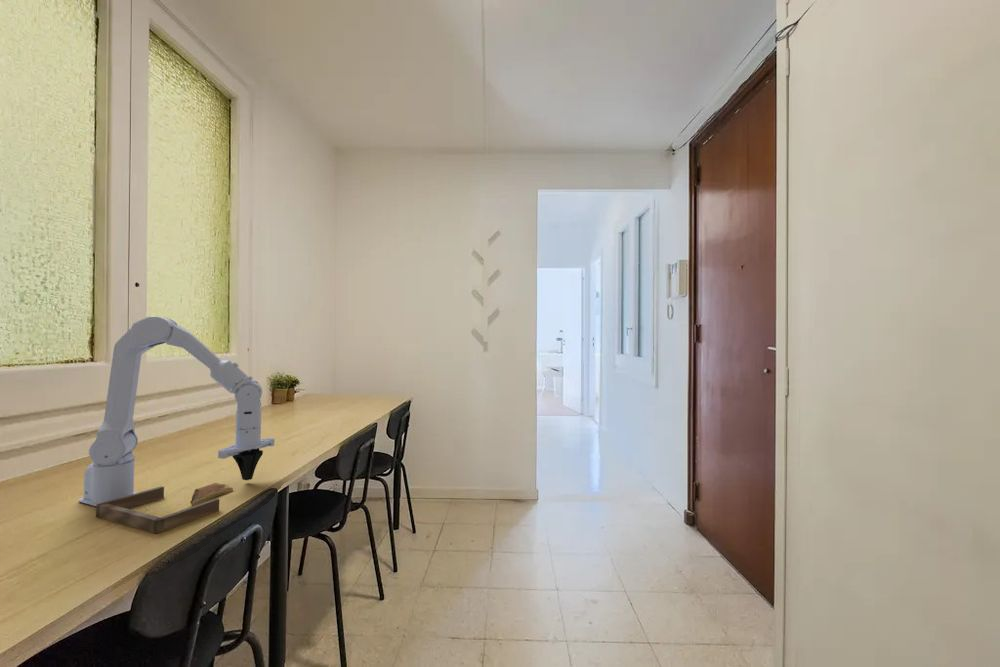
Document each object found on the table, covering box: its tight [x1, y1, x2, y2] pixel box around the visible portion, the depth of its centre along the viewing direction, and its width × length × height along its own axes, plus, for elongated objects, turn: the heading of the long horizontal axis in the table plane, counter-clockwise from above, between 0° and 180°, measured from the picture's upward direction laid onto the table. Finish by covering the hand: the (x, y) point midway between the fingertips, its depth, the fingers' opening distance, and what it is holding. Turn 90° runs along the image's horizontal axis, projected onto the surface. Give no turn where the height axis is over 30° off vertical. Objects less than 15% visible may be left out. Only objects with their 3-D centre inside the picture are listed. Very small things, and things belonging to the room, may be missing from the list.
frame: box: [95, 485, 220, 535], centre depth 90 cm, size 20×12×2 cm, turn 69°
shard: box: [189, 482, 234, 507], centre depth 100 cm, size 11×8×2 cm
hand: (247, 479), depth 110 cm, fingers closed
